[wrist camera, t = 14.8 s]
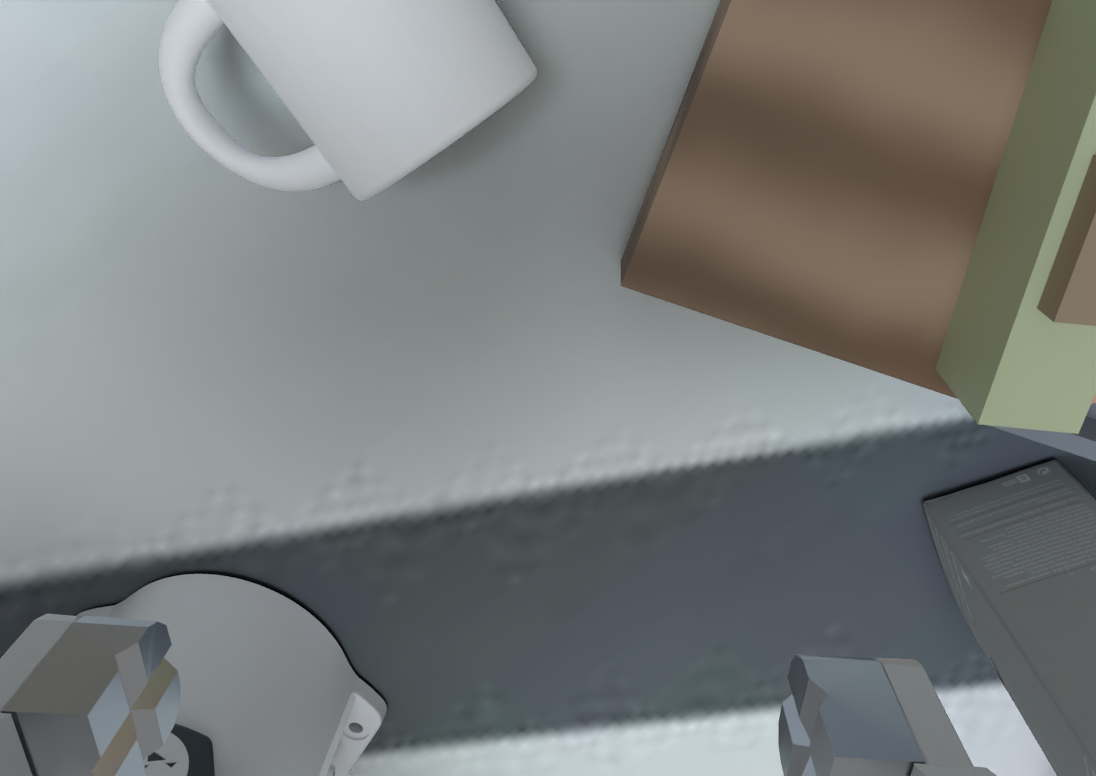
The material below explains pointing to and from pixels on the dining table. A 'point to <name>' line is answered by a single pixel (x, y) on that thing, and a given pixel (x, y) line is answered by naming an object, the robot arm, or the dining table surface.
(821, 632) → the dining table surface
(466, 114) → the mug
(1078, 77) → the green bar
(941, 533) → the skincare box
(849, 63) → the brown flat block
